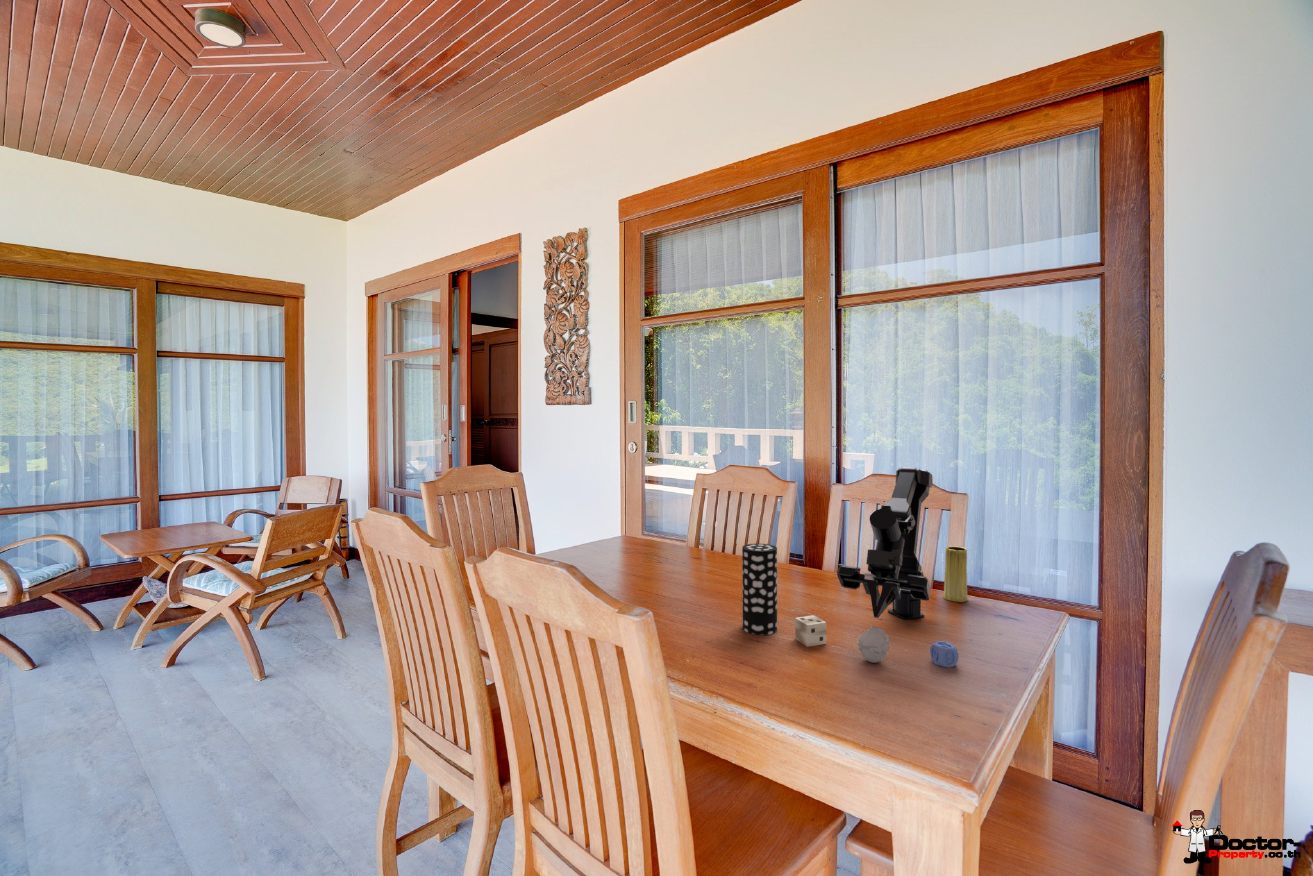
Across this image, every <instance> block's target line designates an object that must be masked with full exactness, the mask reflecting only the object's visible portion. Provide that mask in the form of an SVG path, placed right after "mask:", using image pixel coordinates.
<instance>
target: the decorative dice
mask: <svg viewBox="0 0 1313 876" xmlns="http://www.w3.org/2000/svg"><path fill="white" fill-rule="evenodd" d="M929 651H930V657H931V660H932V662H933V663H934V664H935V665H936V666H939V667H943V668H953V667H955V666H957V664H958V662H959V659H960V658H959V657H960V656H959V652H958V649H957V647H956V646H955V645H954V644H953V643H951V642H947V641H943V640H940V641H935V642H934V643H932V644H931V646H930V649H929Z"/></svg>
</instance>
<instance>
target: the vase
mask: <svg viewBox="0 0 1313 876" xmlns="http://www.w3.org/2000/svg"><path fill="white" fill-rule="evenodd" d="M967 553H968V549H967V548H966V547H963V546H953V545H952V546H946V547H945V559H944V560H945V562H944V563H945V564H944V581H943V582H944V583H943V596H942V597H943V598H944V599H945V600H947V601H950V602H954V603H964V602H965V603H966V602H967V601H968V600H969V599H968V598H969V597H968V573H967V572H968V571H967V570H968V569H967V567H968V566H967V565H968V556H967V555H968V554H967Z"/></svg>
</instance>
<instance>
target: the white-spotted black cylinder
mask: <svg viewBox="0 0 1313 876" xmlns="http://www.w3.org/2000/svg"><path fill="white" fill-rule="evenodd" d="M741 549H742V550H741V551H742V553H741V554H742V555H741V558H742V559H741V560H742V564H741V565H742V568H741V570H742V572H741V573H742V575H741V576H742V582H741V583H742V588H741V589H742V630H743V631H744V632H745V633H749V634H751V635H758V636H764V635H765V636H767V635H772V634H774V633H776V632H777V631H778V547H777V546H776V545H772V544H769V543H748V544H744V545H742V546H741Z"/></svg>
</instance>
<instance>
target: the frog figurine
mask: <svg viewBox="0 0 1313 876" xmlns="http://www.w3.org/2000/svg"><path fill="white" fill-rule="evenodd" d="M890 640H891V639H890V637H889V636H888V633H886V631H885V630H884V629H882V628H880V627H876V626H869V627H868V629H866V630H865V632H863V633H862V634H861V635H860V638H859V640H858V642H857V646H858V650H859V652H860V654H861V656H862V657H863V658H864V660H865V661H867V662H869V663H873V664H875V663H879V662H881V661H883V660H884V658H885V657H886V655H887V652H888V651H889V648H890V647H889V646H890V644H891V643H890Z"/></svg>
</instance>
